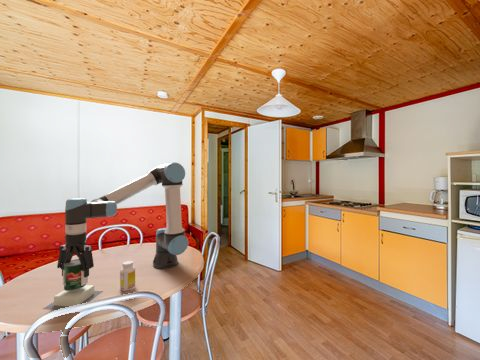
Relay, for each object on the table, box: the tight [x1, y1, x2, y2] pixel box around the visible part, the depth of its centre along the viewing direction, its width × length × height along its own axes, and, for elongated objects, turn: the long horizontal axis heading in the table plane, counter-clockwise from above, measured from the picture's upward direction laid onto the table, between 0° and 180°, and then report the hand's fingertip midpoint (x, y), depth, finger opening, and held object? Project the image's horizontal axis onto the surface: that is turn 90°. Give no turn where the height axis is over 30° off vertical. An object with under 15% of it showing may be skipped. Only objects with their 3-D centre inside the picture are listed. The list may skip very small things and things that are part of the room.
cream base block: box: [53, 284, 95, 306], centre depth 93 cm, size 10×10×4 cm
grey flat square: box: [42, 290, 104, 311], centre depth 93 cm, size 15×15×1 cm
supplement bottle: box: [119, 260, 136, 292], centre depth 104 cm, size 7×7×13 cm
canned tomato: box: [63, 258, 87, 291], centre depth 93 cm, size 8×8×11 cm
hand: (75, 283), depth 93 cm, fingers closed on canned tomato, 8 cm apart
